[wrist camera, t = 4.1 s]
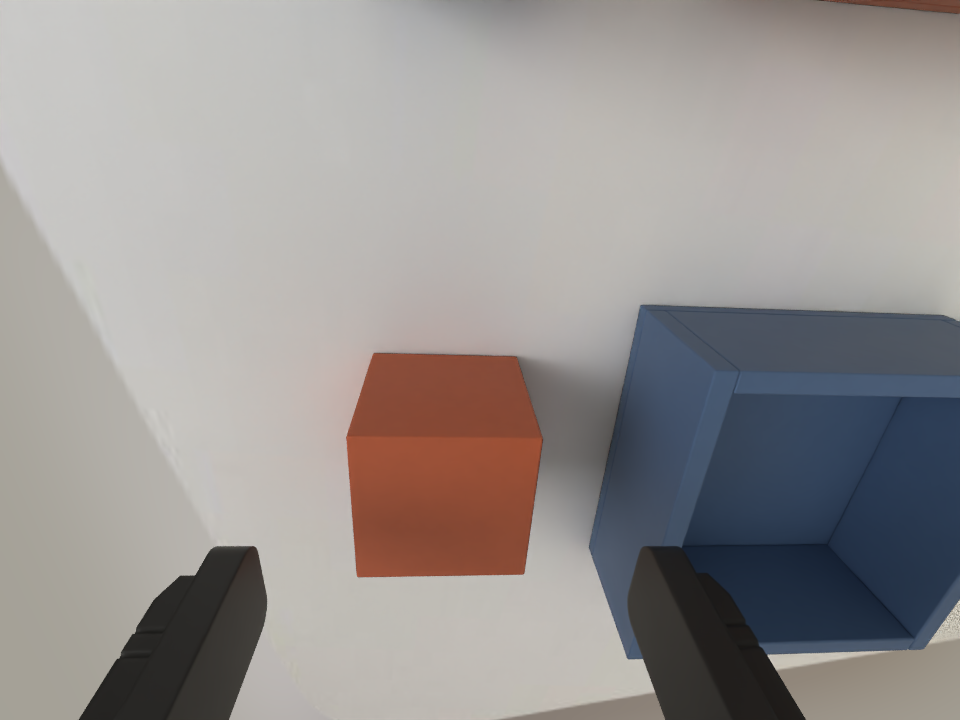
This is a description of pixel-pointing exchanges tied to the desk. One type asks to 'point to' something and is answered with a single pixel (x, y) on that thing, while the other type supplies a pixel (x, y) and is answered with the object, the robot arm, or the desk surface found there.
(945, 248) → the desk surface
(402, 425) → the terracotta block
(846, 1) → the terracotta bin
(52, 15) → the desk surface
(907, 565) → the slate bin
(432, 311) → the desk surface
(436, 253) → the desk surface
